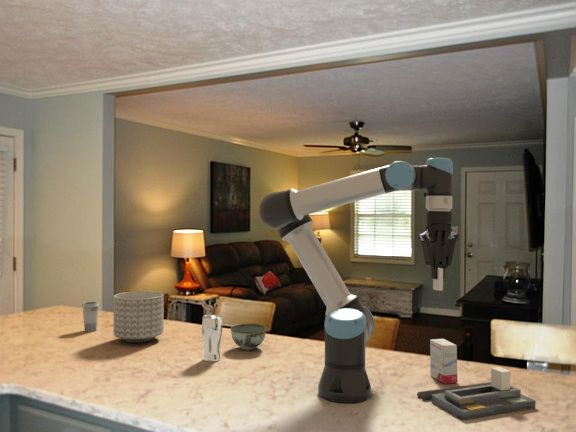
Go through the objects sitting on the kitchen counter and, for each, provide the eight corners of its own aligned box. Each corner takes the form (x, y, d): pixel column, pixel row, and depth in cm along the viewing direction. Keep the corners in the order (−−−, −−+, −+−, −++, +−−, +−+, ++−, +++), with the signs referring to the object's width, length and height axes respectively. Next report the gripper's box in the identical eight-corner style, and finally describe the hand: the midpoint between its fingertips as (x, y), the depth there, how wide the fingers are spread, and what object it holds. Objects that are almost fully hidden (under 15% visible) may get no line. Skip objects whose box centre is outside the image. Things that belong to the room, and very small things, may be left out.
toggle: (500, 397, 140) (500, 372, 140) (489, 392, 144) (490, 368, 144) (510, 395, 142) (511, 371, 142) (500, 390, 145) (500, 366, 145)
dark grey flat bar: (423, 400, 143) (423, 395, 143) (415, 396, 147) (415, 391, 147) (501, 389, 153) (501, 384, 153) (492, 385, 156) (492, 380, 156)
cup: (78, 332, 217) (78, 303, 217) (87, 328, 223) (87, 300, 223) (94, 332, 216) (94, 304, 215) (102, 329, 222) (102, 301, 222)
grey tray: (462, 420, 131) (463, 404, 130) (431, 401, 143) (431, 387, 143) (535, 407, 139) (535, 393, 139) (499, 391, 151) (500, 378, 151)
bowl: (273, 347, 196) (273, 326, 196) (252, 355, 185) (252, 333, 185) (244, 342, 204) (245, 321, 203) (223, 349, 192) (223, 328, 192)
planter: (156, 347, 195) (156, 299, 194) (106, 346, 195) (106, 299, 195) (168, 334, 214) (168, 291, 213) (122, 334, 214) (123, 290, 214)
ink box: (458, 383, 158) (458, 345, 158) (443, 384, 157) (443, 346, 156) (443, 374, 166) (443, 338, 166) (429, 375, 165) (429, 338, 165)
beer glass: (197, 360, 178) (198, 317, 178) (208, 355, 185) (208, 313, 184) (215, 363, 176) (215, 319, 175) (225, 357, 182) (225, 315, 182)
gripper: (428, 210, 147) (427, 293, 147) (465, 210, 151) (464, 290, 152) (413, 210, 154) (411, 289, 154) (449, 210, 158) (447, 287, 159)
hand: (437, 289), depth 153 cm, fingers closed
